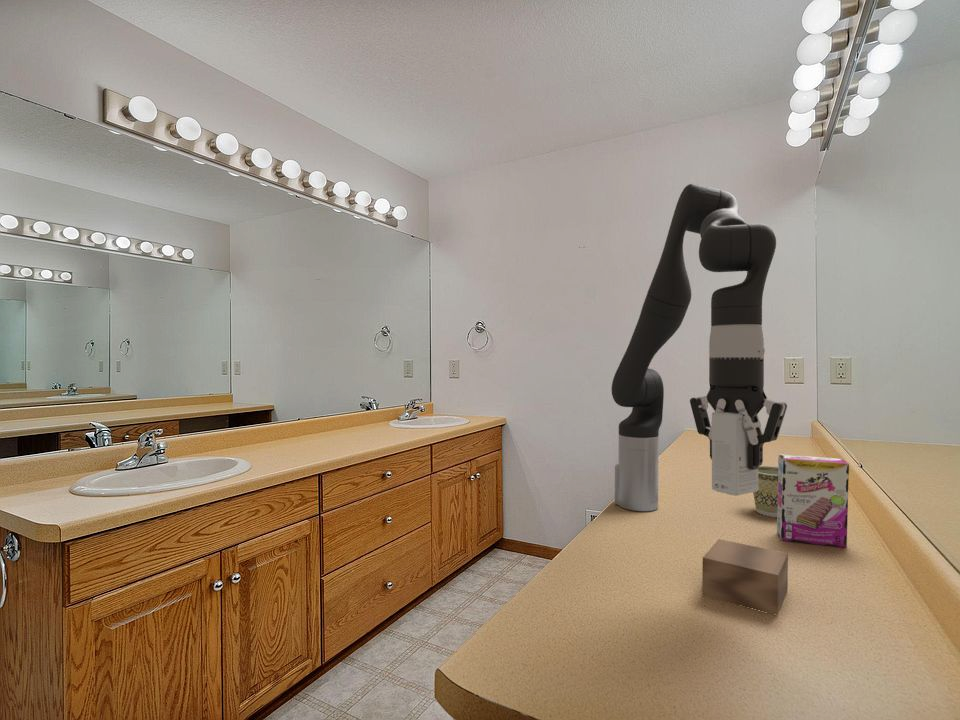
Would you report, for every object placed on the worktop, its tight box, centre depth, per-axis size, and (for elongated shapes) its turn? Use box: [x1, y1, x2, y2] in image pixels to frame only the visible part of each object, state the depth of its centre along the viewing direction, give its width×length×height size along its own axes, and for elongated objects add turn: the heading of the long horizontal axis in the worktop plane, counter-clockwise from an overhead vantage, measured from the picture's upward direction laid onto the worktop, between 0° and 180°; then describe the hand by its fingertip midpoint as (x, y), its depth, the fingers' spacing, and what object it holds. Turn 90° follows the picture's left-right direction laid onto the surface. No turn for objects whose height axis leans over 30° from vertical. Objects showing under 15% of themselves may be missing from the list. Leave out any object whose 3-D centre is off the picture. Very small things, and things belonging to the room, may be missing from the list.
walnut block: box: [701, 538, 789, 616], centre depth 79 cm, size 10×10×6 cm
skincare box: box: [711, 411, 759, 497], centre depth 79 cm, size 6×4×12 cm
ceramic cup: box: [752, 465, 778, 518], centre depth 117 cm, size 13×10×10 cm
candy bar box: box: [776, 454, 850, 548], centre depth 101 cm, size 11×5×16 cm, turn 71°
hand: (735, 465), depth 79 cm, fingers closed on skincare box, 4 cm apart
